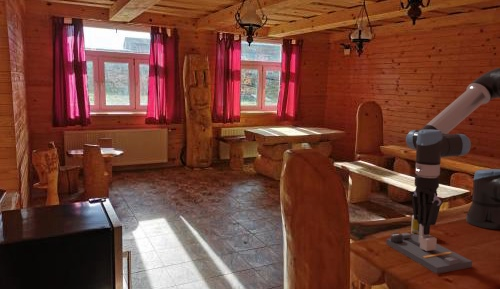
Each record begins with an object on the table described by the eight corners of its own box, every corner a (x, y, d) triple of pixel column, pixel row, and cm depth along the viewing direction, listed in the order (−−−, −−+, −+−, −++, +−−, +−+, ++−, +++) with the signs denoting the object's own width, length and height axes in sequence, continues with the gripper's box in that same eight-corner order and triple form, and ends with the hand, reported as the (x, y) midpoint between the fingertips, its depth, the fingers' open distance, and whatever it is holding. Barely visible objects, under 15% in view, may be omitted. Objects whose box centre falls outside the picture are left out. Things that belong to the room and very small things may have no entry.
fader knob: (429, 246, 131) (430, 234, 130) (436, 249, 128) (437, 237, 127) (419, 247, 129) (420, 235, 129) (425, 251, 127) (426, 239, 126)
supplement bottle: (427, 237, 145) (429, 212, 144) (412, 236, 146) (414, 212, 145) (424, 232, 150) (425, 208, 149) (409, 231, 151) (411, 207, 150)
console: (417, 239, 143) (418, 227, 142) (471, 267, 120) (472, 253, 120) (386, 244, 139) (386, 232, 138) (436, 273, 116) (437, 259, 116)
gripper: (404, 172, 132) (401, 236, 136) (432, 180, 120) (428, 251, 123) (422, 170, 135) (418, 234, 138) (451, 178, 122) (446, 248, 126)
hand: (423, 242), depth 131 cm, fingers closed
